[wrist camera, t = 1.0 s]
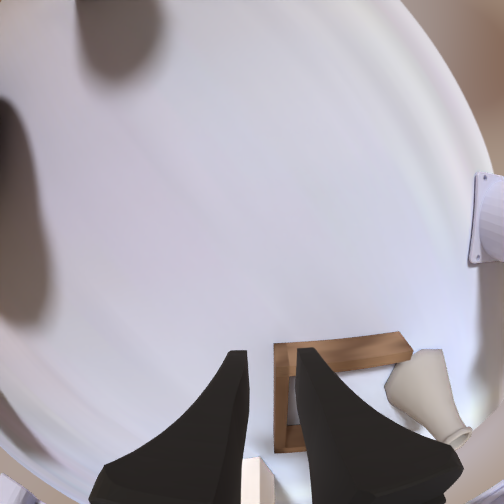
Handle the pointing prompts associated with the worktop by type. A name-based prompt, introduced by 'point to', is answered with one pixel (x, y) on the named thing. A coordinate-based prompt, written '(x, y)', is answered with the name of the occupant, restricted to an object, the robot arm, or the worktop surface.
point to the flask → (428, 396)
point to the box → (338, 359)
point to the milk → (256, 482)
